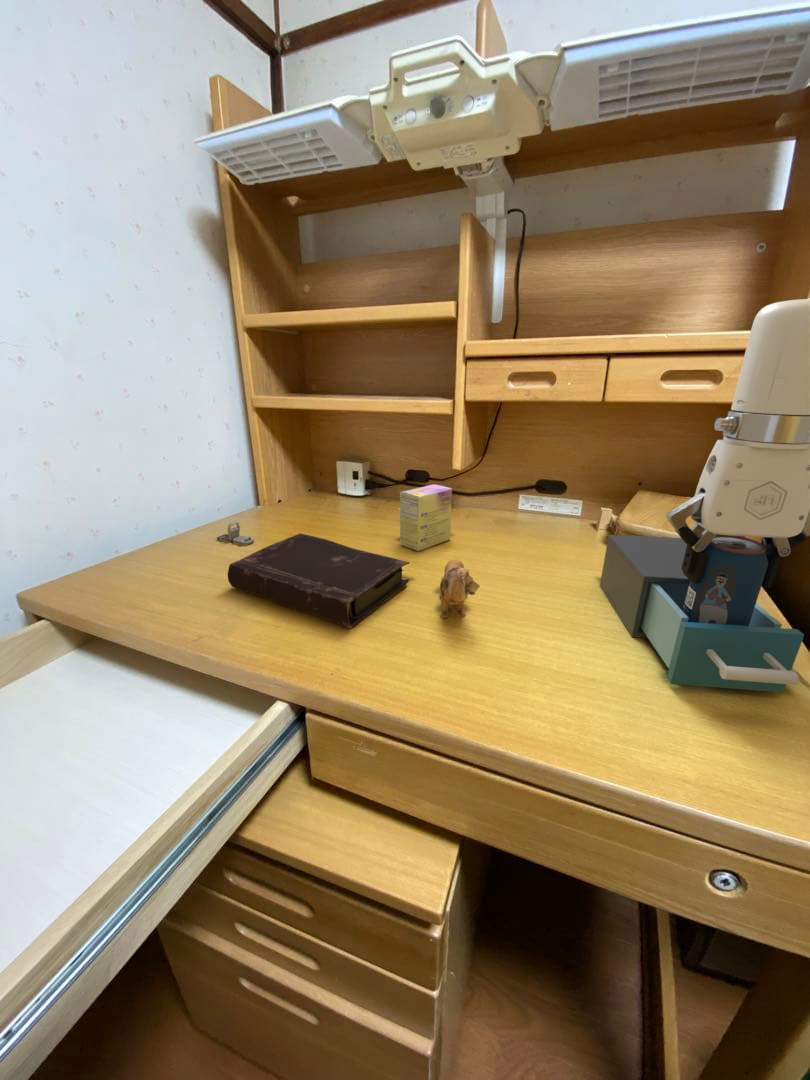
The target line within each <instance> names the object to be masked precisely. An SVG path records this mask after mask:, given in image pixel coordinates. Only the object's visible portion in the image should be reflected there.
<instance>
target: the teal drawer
mask: <svg viewBox="0 0 810 1080" xmlns="http://www.w3.org/2000/svg"><path fill="white" fill-rule="evenodd" d="M688 587H689V584H680V583H663V582H649V586H648V590H647V595H646V599H645V604H644V608H643V613H642V617H641V622H640V627H641V628H642V630H643V631H644V633H645V634H646V636H647V637H648V638H647V639H648V641H649V642H650V644H651V645H652V646H653V648H654V649H655V650H656V652H657V653H658V655H659V656H660V658H661V660H662V661H663V662H664V665H666V667H667V669H668V671H667V675H666V678H667V680H668V681H669V683H670V684H673V685H685V686H696V687H697V686H698V687H710V688H711V687H712V688H721V689H735V690H747V691H761V692H773V693H784V692H785V689H786V686H787V685H793V686H795V685H798V683H799V679H800V678H799V675H798V673H797V672H796V671H794V670H793V667H794V665H795V661H796V659H797V656H798V654H799V650H800V648H801V646H802V643H803V640H804V637H805V634H804V633H803V632H801V631H800V630H799V629H798V628H783V627H782V626H783V624H782V622H780V620H778V619H777V618H775V617H774V616H773V615H772V614H771V613H769V612H768V611H767V610H766V609H764V608H763V607H762V606H760V605H759V604H758V603H757V602H756V604H755V608H754V611H753V614H752V617H751V620H750V624H749V626H740V625H725V624H710V623H695V622H688V617H687V616H686V615H685V613H684V612H683V611H682V610H683V606H684V603H685V599H686V595H687V591H688Z"/></svg>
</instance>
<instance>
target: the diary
mask: <svg viewBox="0 0 810 1080" xmlns="http://www.w3.org/2000/svg"><path fill="white" fill-rule="evenodd" d="M409 564H410V561H408V560H407V561H406V560H404V559H403V560H402V559H399V558H395V557H390V556H386V555H383V554H382V555H381V554H378V553H374V552H370V551H365V550H362V549H358V548H353V547H350V546H347V545H344V544H341V543H338V542H336V541H333V540H330V539H327V538H323V537H318V536H313V535H310V534H305V533H297V534H295V535H293V536H290V537H287V538H285V539H282V540H280V541H277V542H275V543H272V544H270V545H268V546H264V547H263V548H261V549H259V550H257V551H255V552H253V553H251V554H249V555H246V556H244V557H242V558H241V559H238V560H235V561H234V562H231V563H229V565H228V569H227V573H226V574H227V581H228V583H229V584H230V586H231V587H232V588H233V589H237V590H239V591H243V592H247V593H250V594H253V595H256V596H259V597H263V598H265V599H268V600H271V601H273V602H274V603H278V604H280V605H283V606H285V607H289V608H292V609H295V610H298V611H300V612H305V613H308V614H310V615H314V616H317V617H320V618H322V619H325V620H328V621H330V622H332V623H335V624H337V625H340V626H343V627H345V628H348V629H352V627H353V626H355V625H356V624H358V622H360V621H362V620H363V619H364V618H366V617H367V616H368V615H369V614H371V613H372V612H374V611H375V610H376V609H378V608H379V607H380V606H382V605H383V604H384V603H385V602H388V601H389V600H390V599H391V598H392V597H393V596H395V595H396V594H397V593H398V592H399V591H401V590H402V589H403V588H404V587H405V586H406V585H407V584H408V582H410V579H409V578H407V579H406V578H405V579H404V578H403V571H404V570H403V567H404V566H406V565H409Z"/></svg>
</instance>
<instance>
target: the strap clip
mask: <svg viewBox="0 0 810 1080" xmlns="http://www.w3.org/2000/svg"><path fill="white" fill-rule="evenodd" d="M235 525H236V526H235ZM232 526H235V527H233V528H232ZM240 531H241V527H240V523H239V521H232V522H230V523H229V524H228V526H227V534H222V535H219V536H217V537H216V540H218V541H220V542H224V543H231V542H232V543H233V544H235V545H238V546H247V545H250V544H253V543H254V541H255V539H254V538H253V537H251V536H246V535H240V533H241V532H240Z"/></svg>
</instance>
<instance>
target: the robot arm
mask: <svg viewBox="0 0 810 1080" xmlns="http://www.w3.org/2000/svg"><path fill="white" fill-rule="evenodd" d="M733 395H734V396H733V399H732V402H731V408H730V410H729V411H728V412H727V416H725V417H717V418H716V419H715V421H714V424H713V427H714V430H715V431H716V432H717V431H719V432H722V436H723V438H722V439H717V440H716V442H715V444H714V446H713V447H712V450H711V452H710V453H709V455H708V458H707V460H706V462H705V465H704V467H703V469H702V472H701V474H700V477H699V481H698V483H697V485H696V489H695V493H694V496H693V497H691V498H689V499H687V500H686V501H684V502H682V503H680V505H678V506H676V507H674V508H672V509H671V510H670V511H668V512H667V513H666V515H665V516H666V519H667V520H668V521H669V523H670V525H671V526H672V528H673V529H674V531H675V533H676V534H677V535H678V536H679V538H682V539H683V541H684V542H685V543H686V544H687V547H686V551H685V556H684V560H683V564H682V571H683V573H684V575H685V576H686V577H687V578H688V579H689V580H690V581H692V582H693V583H697V584H699V583H700V582H701V580H702V577H703V573H704V569H705V565H706V562H707V558H708V553H706V552H705V551H704V549H705V548H706V547H707V546H708V545H709V543H710V542H711V541H712V540H713V539H714V538H715V537H716V535H717V534H719V535H731V536H741V537H754V538H762V542H763V545H765V547H766V551H765V554H766V557H767V560H768V566H767V570H766V573H765V576H764V579H763V582H762V585H761V587H763V588H766V589H770V588H771V587H772V586H773V583H774V579H775V578H776V576H777V575H778V571H779V567H780V564H781V562H782V559H783V558H784V557H788V556H789V555H790V554H791V552H792V551H791V550H792V549H795V548H796V547H797V546H799V545H800V544H802V543H804V542H805V541H806V539H807V537H810V297H808V298H801V299H790V300H783V301H776V302H773V303H769V304H767V305H765V306H763V307H762V308H761V309H760V310H759V311H757V314H756V315H755V316H754V319H753V322H752V325H751V329H750V333H749V337H748V341H747V345H746V349H745V351H744V356H743V360H742V363H741V368H740V372H739V376H738V380H737V383H736V387H735V391H734V394H733ZM689 517H690V518H691V520H693V522H696V523H695V524H694V525H693V526H692V527H691V528H690V527H689V525H688V523H687V519H688V518H689Z"/></svg>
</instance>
